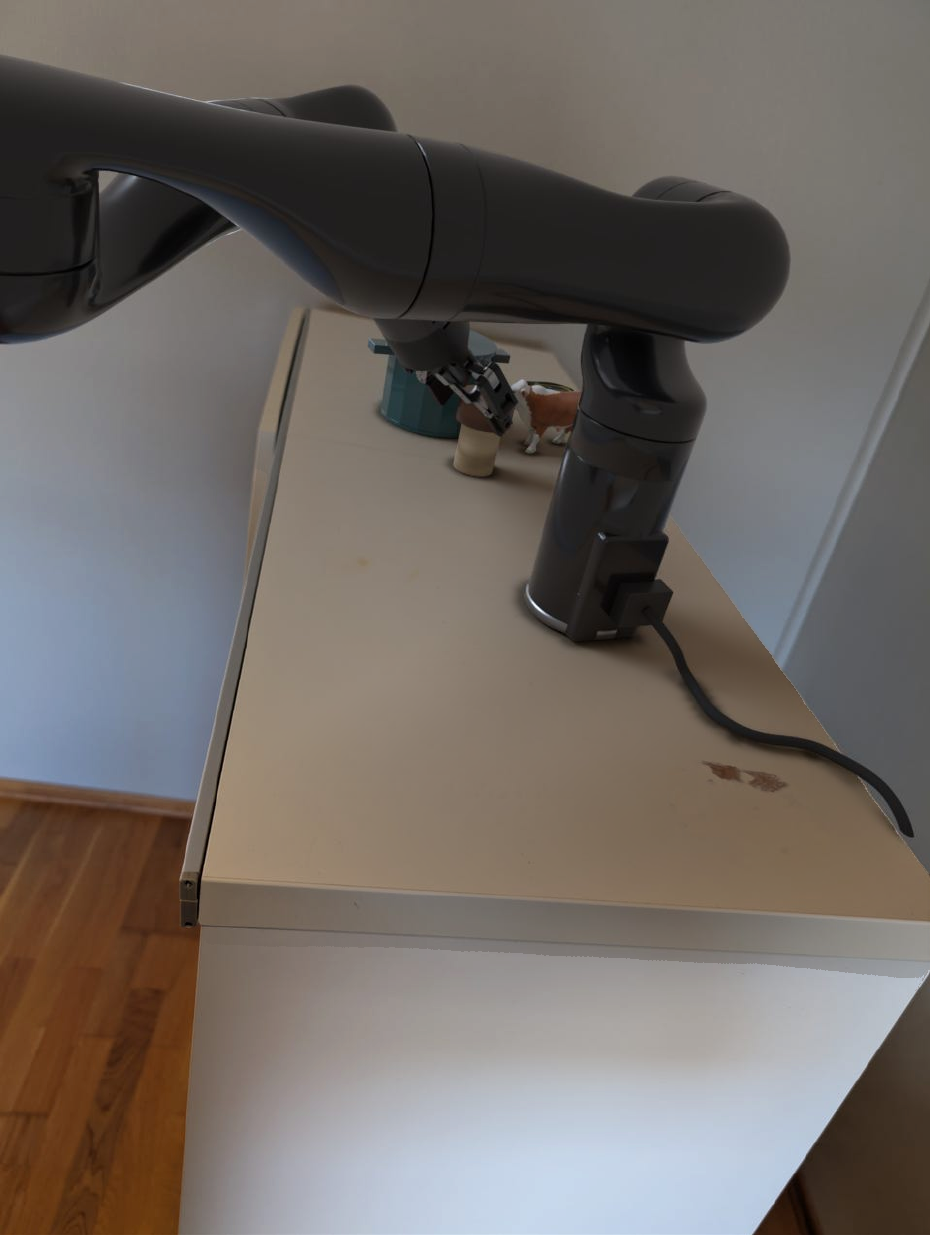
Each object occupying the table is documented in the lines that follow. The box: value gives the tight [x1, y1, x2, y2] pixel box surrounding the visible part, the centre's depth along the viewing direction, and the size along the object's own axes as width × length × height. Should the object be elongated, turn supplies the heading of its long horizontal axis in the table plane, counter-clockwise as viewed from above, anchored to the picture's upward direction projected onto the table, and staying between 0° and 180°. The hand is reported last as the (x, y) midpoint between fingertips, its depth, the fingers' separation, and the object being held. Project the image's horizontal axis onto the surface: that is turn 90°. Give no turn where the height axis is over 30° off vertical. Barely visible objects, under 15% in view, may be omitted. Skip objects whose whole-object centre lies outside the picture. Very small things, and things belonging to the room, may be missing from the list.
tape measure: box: [525, 380, 575, 392], centre depth 115 cm, size 7×7×4 cm
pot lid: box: [468, 329, 498, 360], centre depth 99 cm, size 13×13×5 cm
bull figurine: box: [510, 378, 581, 455], centre depth 102 cm, size 4×13×8 cm, turn 115°
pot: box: [367, 337, 511, 439], centre depth 103 cm, size 12×17×10 cm
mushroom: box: [453, 385, 516, 478], centre depth 93 cm, size 6×6×8 cm
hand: (474, 413), depth 90 cm, fingers open, 8 cm apart
